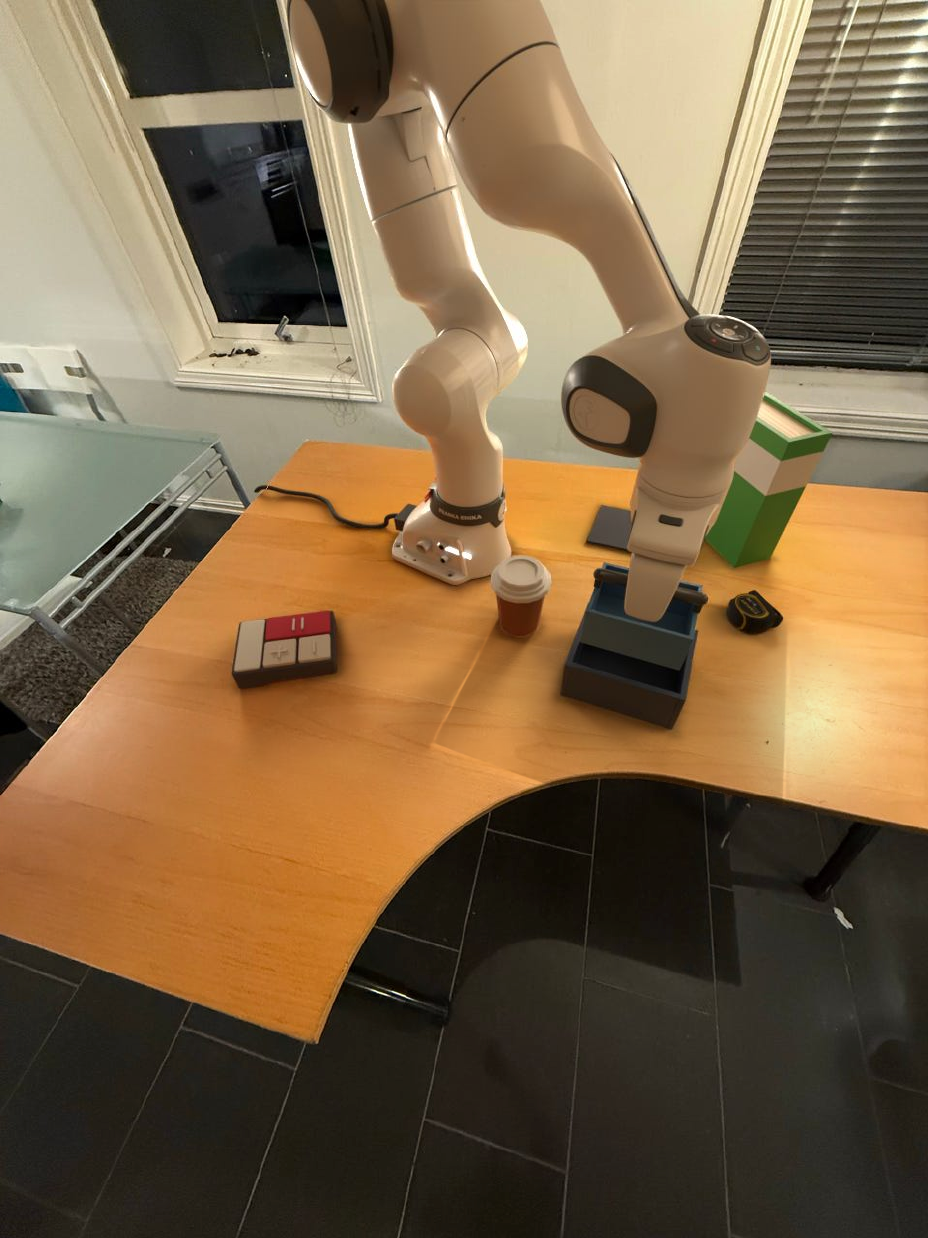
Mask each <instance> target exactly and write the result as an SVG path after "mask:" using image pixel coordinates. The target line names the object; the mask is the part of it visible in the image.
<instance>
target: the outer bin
mask: <svg viewBox="0 0 928 1238" xmlns="http://www.w3.org/2000/svg"><path fill="white" fill-rule="evenodd" d="M588 603H589V601H588V602H587V605H586V607H585V610H584V612H583V614H582V617H581V620H580V623H579V625H578V628H577V631H576V634H575V635H574V639H573V642H572V644H571V646H570V650H569V652H568V655H567V658H566V659H565V664H564V667H563V673H562V675H563V676H562V680H561V687H560V693H559V694H560V696H562V697H566V698H569V699H573V700H575V701H579V702H582V703H585V704H588V705H591V706H594V707H598V708H601V709H604V710H608V711H610V712H614V713H616V714H620V715H623V716H626V717H629V718H633V719H636V720H640V721H642V722H646V723H648V724H653V725H655V726H658V727H662V728H665V729H668V730H671V731H672V730H673V729H674V727H675V725H676V722H677V720H678V718H679V716H680V714H681V712H682V711H683V707H684V705H685V704H686V701H687V697H688V696H687V695H688V690H689V685H690V681H691V674H692V668H693V662H694V657H695V653H696V651H695V650H696V646H697V645H696V644H697V640H698V634H699V630H698V629H695V633H694V639H693V642H692V644H691V646H690V648H689V651H688V653H687V655H686V657H685V659H684V662H683V664H682V666H681V668H680V670H675V669H672V668H668V667H665V666H661V665H658V664H654V663H651V662H647V661H644V660H641V659H637V658H634V657H630V656H627V655H623V654H620V653H616V652H613V651H609V650H606V649H602V648H599V647H595V646H592V645H588V644H585V643H581V642H580V637H581V632H582V627H583V622H584V617H585V612H586V609H587V606H588Z"/></svg>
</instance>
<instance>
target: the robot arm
mask: <svg viewBox="0 0 928 1238" xmlns="http://www.w3.org/2000/svg"><path fill="white" fill-rule="evenodd" d="M286 20H287V28H288V34H289V40H290V44H291V48H292V53H293V57H294V60H295V63H296V66H297V69H298V72H299V74H300V77H301V79H302V82H303V84H304V87H305V89H306V90H307V93H308V95H309V96H310V98H311V99H312V101H313V102H314V104H315V105H316V106H317V107H318V109H320V111H322V113H323V114H324V115H325V116H327V118H328V119H330V120H331V121H333V122H336V123H340V124H347V129H348V134H349V139H350V140H349V141H350V146H351V150H352V151H351V152H352V155H353V160H354V165H355V169H356V173H357V178H358V181H359V186H360V189H361V192H362V197H363V199H364V203H365V207H366V210H367V212H368V215H369V219H370V221H371V224H372V225H371V226H372V228H373V231H374V234H375V236H376V239H377V242H378V245H379V249H380V250H381V253H382V257H383V259H384V261H385V262H384V263H385V265H386V268H387V270H388V273H389V277H390V279H391V282H392V286H393V288H394V290H395V291H396V293H397V294H398V295H399V296H400V297H401V298H402V299H403V300H405V301H407V302H408V303H411V304H414V305H415V306H416V307H418V308H419V310H420V311H421V312H422V313H423V315H424V316H425V317H426V319H427V320H428V322H429V324H430V326H431V327H432V331H433V332H434V334H435V335H434V336H435V337H434V338H433V339H431V340H430V341H428V342H426V343H425V344H424V345H422V346H420V347H418V348H417V349H416V350H414V351H413V352H412V354H411V355H410V356H409V357H408V358H407V359H406V360H405V362H404V363H403V364H402V365H401V367H400V368H399V369H398V370H397V372H396V373H395V374H394V376H393V379H392V384H391V395H392V400H393V405H394V408H395V410H396V412H397V414H398V416H399V418H401V420H402V421H403V423H404V424H405V425H406V426H407V427H408V428H409V429H410V430H412V431H414V432H415V433H417V434H418V435H421V436H423V437H425V439H426V441H427V442H428V444H429V447H430V450H431V453H432V454H431V455H432V460H433V466H434V473H435V477H434V482H432V483H431V484H430V486H429V487H428V491H427V492H426V493H425V495H424V497H423V499H424V501H422V502H420V503H419V504H418V505H417V504H411V503H407V504H406V505H405V506H404V507H403V508H402V509H401V511H399V512H392V513H388V514H386V515H385V516H384V518H383V522H381V523H376V524H367V523H360V522H356V521H353V520H350V519H347V518H344V517H342V516H340V515H339V513H337V511H336V509H335V508H334V506H333V504H332V503H331V502H330V501H329V499H327V498H325V497H324V496H323V495H320V494H316V493H312V492H307V491H300V490H292V489H291V490H290V489H286V488H285V489H284V488H281V487H277V486H274V485H269V484H261V485H258V486H257V487H255V489H254V490H253V492H254V493H256V494H257V493H260V492H261V491H263V490H264V491H265V490H267V491H272V492H275V493H280V494H284V495H288V496H297V497H298V496H299V497H305V498H311V499H316V500H318V501H320V502H322V503H323V504H324V505H326V507H327V509H328V511H329V513H330V514H331V516H332V517H333V518H334V519H335V520H337V521H338V522H340V523H342V524H345V525H347V526H350V527H353V528H358V529H375V530H376V529H378V530H381V529H385V528H386V527H388V526H389V524H390V520H392V519H393V522H394V525H395V526H394V527H395V531H399V533H398V535H397V536H396V538H395V540H394V542H393V544H392V548H391V551H392V558H393V559H394V560H395V561H397V562H399V563H401V564H404V565H406V566H408V567H411V568H413V569H415V570H418V571H420V572H421V573H424V574H426V575H429V576H431V577H433V578H435V579H438V580H440V581H442V582H444V583H447V584H449V585H451V586H459V585H462V584H464V583H466V582H468V581H470V580H474V579H479V578H484V577H488V576H491V574H492V573H493V571H494V569H495V568H496V567H497V566H498V565H500V563H501V562H502V561H503V560H505V559H506V558H508V557H512V547H511V544H510V542H509V539H508V535H507V529H506V524H505V523H506V522H505V517H506V512H507V500H506V499H507V498H506V486H505V483H504V476H503V475H504V448H503V443H502V441H501V440H500V438H499V437H498V436H497V435H496V434H495V433H493V432H492V431H491V430H489V427H488V424H487V418H486V417H487V410H488V408H489V404H490V403H491V401H492V400H493V399H494V398H496V397H497V396H498V395H500V393H502V392H503V391H504V390H505V389H506V388H508V387H509V386H510V385H511V384H512V383H513V382H514V380H515V379H516V377H517V376H518V374H519V372H520V371H521V369H522V367H523V365H524V364H525V361H526V359H527V356H528V351H529V343H528V336H527V334H526V333H527V332H526V331H525V329H524V326H523V324H522V323H521V321H519V319H518V318H517V317H516V316H515V315H514V314H512V313H510V312H509V311H507V310H506V309H505V308H504V307H503V306H502V304H501V303H500V301H499V300H498V298H497V296H496V294H495V292H494V291H493V289H492V287H491V285H490V284H489V282H488V279H487V277H486V275H485V272H484V271H483V269H482V266H481V264H480V261H479V259H478V255H477V252H476V249H475V245H474V242H473V239H472V235H471V231H470V227H469V223H468V220H467V216H466V211H465V209H464V204H463V200H462V197H461V193H460V189H459V187H458V182H457V178H456V174H455V171H454V167H453V164H452V160H453V162H454V164H455V168H456V170H457V172H458V174H459V176H460V178H461V180H462V182H463V184H464V187H466V189H467V191H468V193H469V194H470V196H471V197H472V199H473V200H474V201H475V203H476V204H477V206H478V207H479V209H481V210H482V213H484V214H485V215H486V216H487V217H489V218H490V219H491V220H493V221H495V222H497V223H498V224H500V225H503V226H505V227H508V228H510V229H514V230H520V231H524V232H525V231H526V232H531V233H536V234H540V235H544V236H548V237H550V238H553V239H556V240H559V241H561V242H563V243H565V244H567V245H569V246H571V247H572V248H573V249H576V251H578V252H579V253H580V254H581V255H582V256H583V257H584V258H585V260H586V261H587V263H588V264H589V265H590V267H591V269H592V271H593V273H594V274H595V276H596V278H597V281H598V282H599V285H600V287H601V288H602V290H603V292H604V293H605V296H606V298H607V300H608V302H609V304H610V306H611V308H612V310H613V312H614V313H615V316H616V317H617V319H618V321H619V323H620V325H621V329H622V335H621V336H619V337H616V338H613V339H611V340H609V341H607V342H605V343H603V344H601V345H600V346H598V347H595V348H594V349H592V350H591V351H589V352H587V353H585V354H584V355H583V356H581V357H580V358H578V359H577V360H575V361H574V362H573V363H572V364H571V365H570V367H569V368H568V370H567V371H566V373H565V376H564V379H563V382H562V385H561V386H562V387H561V391H560V393H561V394H560V403H561V404H560V405H561V411H562V415H563V418H564V422H565V423H566V426H567V428H568V430H569V431H570V432H571V434H572V435H573V437H574V438H575V439H576V440H577V441H579V442H580V443H582V444H583V445H585V446H587V447H589V448H590V449H593V450H596V451H599V452H602V453H606V454H610V455H613V456H617V457H621V458H622V457H623V458H629V459H636V458H637V459H638V460H639V463H638V468H637V472H636V476H635V480H634V485H633V488H632V493H631V497H630V501H629V508H630V509H629V510H630V511H631V522H632V524H631V531H630V535H629V539H628V546H627V550H628V551H630V552H629V553H631V552H632V553H631V554H630V562H629V566H628V568H629V573H628V580H627V587H626V595H625V603H624V609H625V613H626V614H627V615H629V616H631V617H635V618H638V619H641V620H646V621H650V622H656V621H658V620H659V619H661V617H662V616H663V614H664V613H665V611H666V609H667V607H668V605H669V603H670V601H671V599H672V597H673V595H674V593H675V591H676V589H677V587H678V585H679V583H680V581H682V578H683V576H684V574H685V571H686V570H687V567H688V566H689V567H690V566H694V565H695V564H696V562H697V559H698V557H699V555H700V552H701V550H702V547H703V544H704V541H705V539H704V538H705V536H706V535H707V534H708V532H709V531H710V529H711V528H712V526H713V525H714V524H715V522H716V520H717V518H718V515H719V513H720V510H721V508H722V505H723V503H724V500H725V498H726V495H727V493H728V490H729V488H730V485H731V483H732V480H733V476H734V464H735V460H736V458H737V456H738V454H739V453H740V452H741V450H742V449H743V448H744V447H745V445H746V444H747V442H748V439H749V437H750V435H751V432H752V429H753V427H754V424H755V421H756V418H757V415H758V413H759V409H760V406H761V403H762V400H763V397H764V393H765V391H766V389H767V385H768V383H769V377H770V372H771V365H772V354H771V353H772V352H771V348H770V345H769V342H768V340H767V339H766V338H765V336H764V335H763V334H762V333H761V332H760V331H759V330H758V329H757V328H756V327H755V326H753V325H752V324H750V323H747V322H746V321H744V320H741V319H739V318H736V317H733V316H729V315H720V314H713V313H710V314H708V313H707V314H701V313H700V312H699V311H698V310H697V309H696V308H695V307H694V306H693V305H692V304H691V303H690V302H689V300H688V299H687V298H686V296H685V295H684V293H683V292H682V290H681V288H680V286H679V284H678V282H677V280H676V279H675V277H674V274H673V272H672V270H671V267H670V266H669V264H668V263H669V262H668V261H667V259H666V257H665V254H664V252H663V250H662V248H661V247H660V244H659V242H658V239H657V237H656V235H655V232H654V231H653V228H652V227H651V224H650V222H649V220H648V217H647V216H646V213H645V211H644V209H643V207H642V204H641V202H640V200H639V198H638V196H637V194H636V192H635V190H634V188H633V187H632V184H631V183H630V180H629V179H628V177H627V175H626V173H625V172H624V170H623V169H622V167H621V166H620V164H619V162H618V161H617V159H616V158H615V156H614V155H613V153H612V152H611V151H610V149H609V148H608V146H607V145H606V144H605V142H604V141H603V139H602V137H601V135H600V134H599V132H598V131H597V128H596V127H595V125H594V123H593V121H592V119H591V117H590V115H589V113H588V111H587V109H586V107H585V104H584V102H583V101H582V98H581V96H580V94H579V92H578V90H577V87H576V85H575V83H574V80H573V78H572V76H571V74H570V71H569V68H568V66H567V62H566V60H565V58H564V55H563V53H562V51H561V48H560V47H561V46H560V44H559V42H558V39H557V37H556V34H555V32H554V29H553V26H552V24H551V22H550V19H549V18H548V15H547V13H546V11H545V8H544V6H543V3H542V1H541V0H287V1H286ZM449 152H450V154H449ZM450 156H451V157H450ZM451 158H452V160H451ZM268 485H269V486H268ZM267 486H268V488H267ZM266 488H267V489H266Z"/></svg>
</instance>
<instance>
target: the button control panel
mask: <svg viewBox="0 0 928 1238" xmlns="http://www.w3.org/2000/svg"><path fill="white" fill-rule="evenodd" d="M237 628H238V629H237V633H236V634H237V635H236V642H235V647H234V654H233V655H234V656H233V660H232V667H231V676H232V678H233V680H234V682H235V685H236V686H237V687H238V689H239V690H241V689H250V688H256V687H257V688H258V687H263V686H265V685H267V684H269V683H275V682H281V681H289V680H295V679H303V678H308V677H310V678H311V677H316V676H323V675H324V676H325V675H331V674H336V673H337V672H338V635H337V634H338V631H337V630H338V629H337V620H336V616H335V613H334V611H333V610H320V611H312V612H305V613H296V614H289V615H281V616H272V617H268V618H260V619H253V620H252V619H251V620H246V621H240V622H239V623H238V627H237Z"/></svg>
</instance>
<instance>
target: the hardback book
mask: <svg viewBox="0 0 928 1238" xmlns="http://www.w3.org/2000/svg"><path fill="white" fill-rule="evenodd" d="M833 434H834V432H833V431H831V429H828V428H827V427H825V426H823V425H822V424H820V423H819V422H817V421H815V420H813V419H812V418H810V417H809V416H807V415H805V414H803V413H802V412H800V411H799V410H797V409H796V408H794V407H792V406H790V405H789V404H788V403H786V402H784V401H782V400H781V399H779V398H778V397H776V396H774V395H773V394H771V393H770V392H768V391H766V390H765V393H764V397H763V400H762V403H761V406H760V409H759V413H758V415H757V418H756V421H755V424H754V427H753V429H752V432H751V435H750V437H749V439H748V442H747V444H746V445H745V447H744V448H743V449H742V450H741V452H740V453H739V454H738V456H737V458H736V460H735V464H734V476H733V480H732V483H731V485H730V488H729V490H728V493H727V495H726V498H725V500H724V503H723V505H722V508H721V510H720V513H719V515H718V518H717V520H716V522H715V524H714V525H713V526H712V528H711V529H710V531H709V532H708V534H707V535H706V536H705V538H704V541H706V542H707V543H708V544H709V545H710V546H711V547H712V548H713V549H714V550H715V551H716V552H717V553H718V554H719V555H720V556H721V557H722V558H723V559H724V560H725V561H726V562H727V563H728V564H729V565H730V566H731V567H732V568H733V569H737V568H740V567H744V566H748V565H752V564H756V563H758V562H762V561H767V560H770V559H771V558H772V557H773V554H774V552H775V550H776V549H777V546H778V544H779V542H780V540H781V537H782V535H783V534H784V532H785V530H786V528H787V526H788V524H789V522H790V520H791V518H792V516H793V514H794V512H795V510H796V507H797V505H798V504H799V502H800V500H801V498H802V496H803V494H804V491H805V489H806V488H807V486H808V484H809V481H810V479H812V475H813V474H814V471H815V470H816V467H817V465H818V463H819V461H820V460H821V457H822V456H823V454H824V451H825V450H826V448H827V446H828V443H829V441H830V439H831V437H832V435H833Z"/></svg>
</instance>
